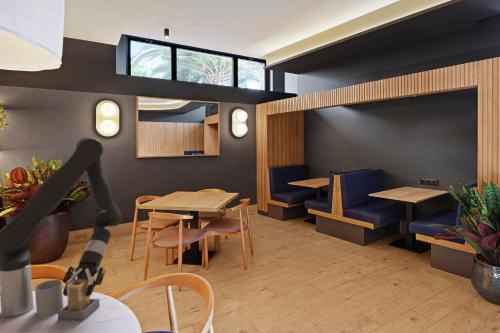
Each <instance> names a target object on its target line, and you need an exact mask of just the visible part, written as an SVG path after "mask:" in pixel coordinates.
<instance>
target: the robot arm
mask: <svg viewBox="0 0 500 333" xmlns="http://www.w3.org/2000/svg"><path fill="white" fill-rule="evenodd" d="M103 146H104V145H103V144H102V142H101V141H100V140H99V139H97V138H94V137H82V138H81V139H79V140H78V142H77V144H76V147H75V151H74V152H73V153H72V155H71V156H70V157H69V159H68V160H67V161H66V162H65V163H64V164H63V165H61V166H60V167H59V168H58V169H56V170H55V171H54V172H52V173H51V174H50V175H49V176H48V177H47V178H46V179H45V180H44V181H43V182H42V183H41V184H40V186H38V187H37V188H36V190H35V191H34V193H33V194H32V195H31V197H30V198H29V199H28V201H27V202H26V204H25V205H24V206H23V208H22V209H21V211H20V212H19V213H18V214H17V215H16V216H15V217H14V218H13V219H12V220H11V221H10V222H9V223H8V224H6V225H5V226H3V227H2V228H1V229H0V312H1V318H2V319H3V318H13V317H14V318H15V317H17V316H20V315H21V316H22V315H24V314H26V313H28V312H30V311H31V310H32V309H33V308H34V296H33V281H32V269H31V237H30V236H31V234H32V233H33V232H34V230H35V229H36V228H37V227H38V225H39V224H40V223H41V222H42V221H43V220H44V219H45V218H47V216H48V215H49V214H51V213H52V211H53V210H54V209H55V208H57V206H58V205H59V204H60V203H61V202H62V201H63V200H64V199H65V198H66V196H67V195H68V194H69V193H70V191H71V190H72V189H73V188H74V186H75V185H76V183H77V182H78V181H79V180H80V178H81V177H82V176H83V174H84V173H85V172H86V175H87V178H88V182H89V186H90V190H91V194H92V197H93V201H94V204H95V206H96V207H97V208H99V209H103V210H100V211H99V212H97V214H96V215H95V217H94V220H93V221H94V222H93V231H92V234H91V237H90V238H89V241H88V242H87V244H86V246H85V248H84V250H83V253H82V255H81V257H80V259H79V262H78V266H77V267H73V266H69V268H68V269H67V271H66V273H65V275H64V277H63V279H62V283H64V284H65V286H64V288H63V289H62V293H63V296H65V297H67V285H68V284H70V283H71V282H73V281H74V280H76V279H81V280H89V286H88V288H87V291H86V293H85V296H87V297H91V296H92V294H93V292H94V289H95V287H97V286H101V285H102V282H103V279H104V276H105V273H106V269H105V268H104V267H102V266H101V263H102V260H103V258H104V255H105V253H106V250H107V247H108V244H109V241H110V239H111V231H110V230H108V229H107V228H108V227H116V226H119V225H120V224H121V222H122V213H121V210H120V209H119V207H118V205H117V204H116V201H114V199H113V195H112V193H111V187H110V184H109V183H108V179H107V178H106V174H105V172H104V169H103V166H102V161H101V156H103V153H104V147H103ZM96 274H97V275H96ZM95 275H96V278H95Z"/></svg>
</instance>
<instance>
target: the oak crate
mask: <svg viewBox="0 0 500 333" xmlns="http://www.w3.org/2000/svg"><path fill="white" fill-rule="evenodd" d="M89 285H90V282H89V280H81V279H76V280H74V281H73V282H71V283H70V284H68V285H67V296H66V298H67V304H68V311H83V310H85V309H86V308H87V307H88V306H89V305H90V299H91V298H90V297H91V296H90V297H87V296H85V293H86V291H87V288H88V286H89Z"/></svg>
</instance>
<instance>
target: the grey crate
mask: <svg viewBox="0 0 500 333" xmlns="http://www.w3.org/2000/svg"><path fill="white" fill-rule="evenodd" d="M100 306H101V305H100V298H90V305H89V306H88V307H87V308H86V309H85V310H83V311H68V303H67V304H66V305H65V306H63V308H62V309H61V310H60V311H58V313H57V320H58V321H76V322H77V321H79V322H80V321H81V322H84V321H85V320H86V319H87V318H88V317H89V316H91V315H92V314H93V313H94V312H95V311H96V310H97V309H98V308H99V307H100Z"/></svg>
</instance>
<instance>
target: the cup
mask: <svg viewBox="0 0 500 333" xmlns="http://www.w3.org/2000/svg"><path fill="white" fill-rule="evenodd" d="M34 292H35V305H36V316H38V317H40V318H41V317H42V318H43V317H49V316H53V315H55V314H58V311H60V310H61V309H62V308H63V307H64V297H63V296H64V295H63V281H62V280H60V279H52V280H45V281H43V282H41V283H39V284H37V285H36V286H35V287H34Z"/></svg>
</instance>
